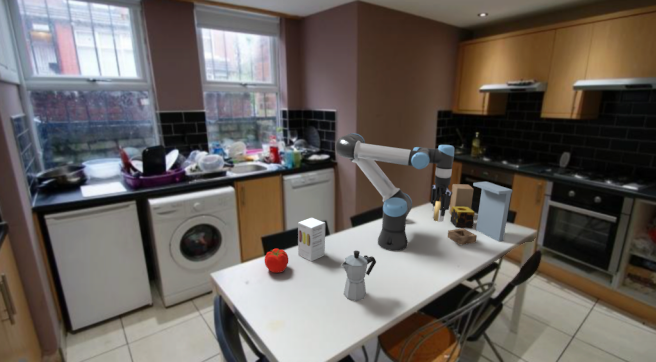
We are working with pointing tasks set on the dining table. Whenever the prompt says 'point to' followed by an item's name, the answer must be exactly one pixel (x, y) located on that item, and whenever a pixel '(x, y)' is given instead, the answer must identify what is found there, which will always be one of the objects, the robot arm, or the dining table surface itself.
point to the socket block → (462, 236)
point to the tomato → (276, 260)
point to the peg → (437, 210)
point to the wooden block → (461, 196)
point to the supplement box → (311, 239)
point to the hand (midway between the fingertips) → (437, 219)
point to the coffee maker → (356, 275)
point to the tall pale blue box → (493, 210)
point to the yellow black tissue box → (462, 217)
